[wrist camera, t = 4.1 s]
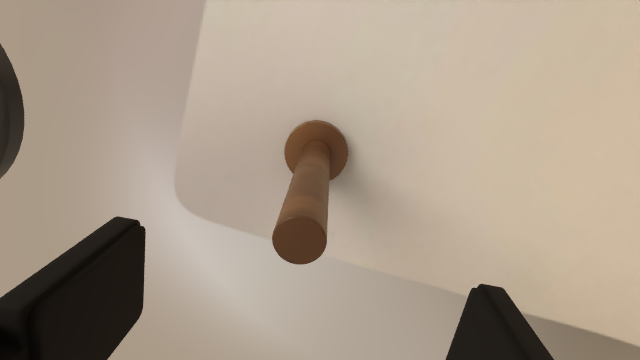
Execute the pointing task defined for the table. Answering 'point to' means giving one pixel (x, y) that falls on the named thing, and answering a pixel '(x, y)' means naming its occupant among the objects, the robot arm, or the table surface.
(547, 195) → the table surface
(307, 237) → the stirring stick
